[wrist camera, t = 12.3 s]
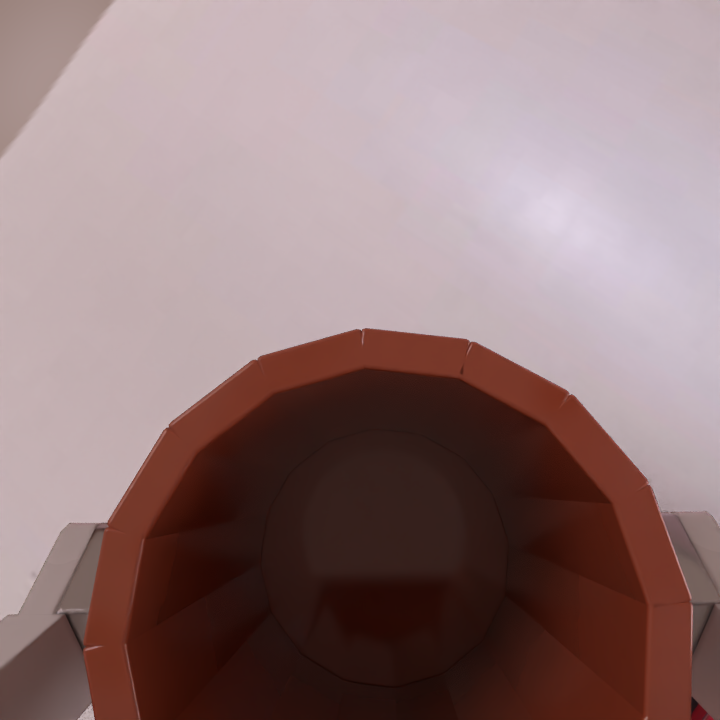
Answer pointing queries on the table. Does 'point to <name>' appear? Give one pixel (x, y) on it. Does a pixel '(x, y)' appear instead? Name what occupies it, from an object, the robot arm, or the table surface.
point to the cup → (388, 551)
